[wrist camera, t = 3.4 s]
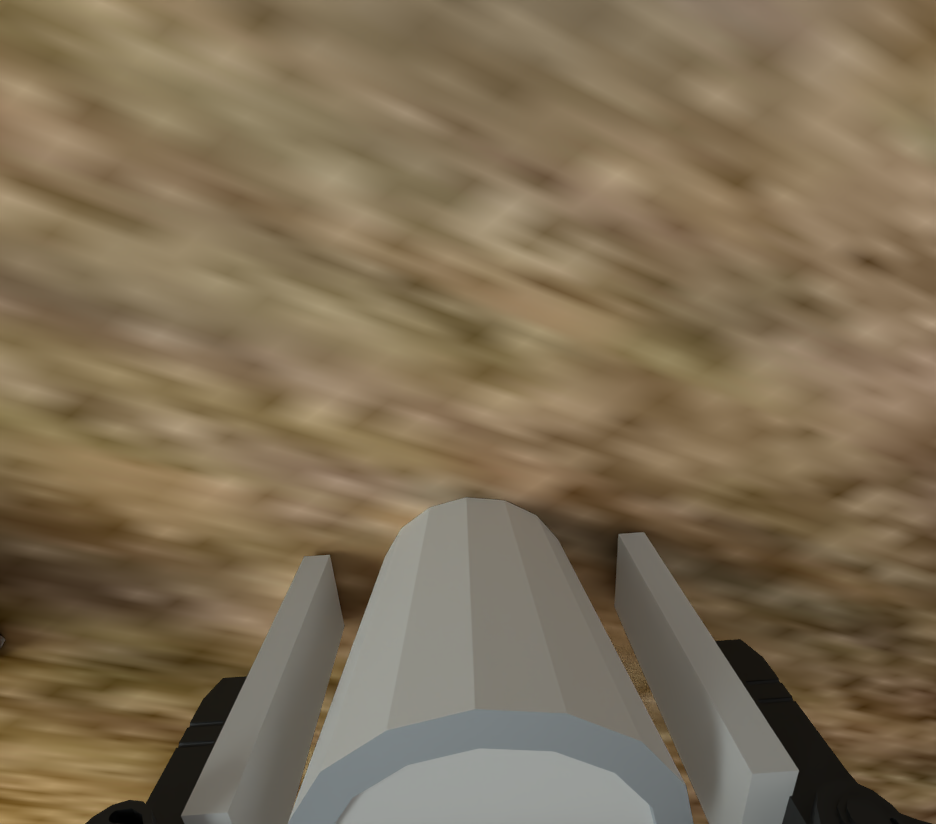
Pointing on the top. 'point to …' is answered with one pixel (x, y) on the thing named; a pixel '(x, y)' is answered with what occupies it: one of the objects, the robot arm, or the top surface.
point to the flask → (1, 641)
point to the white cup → (486, 691)
